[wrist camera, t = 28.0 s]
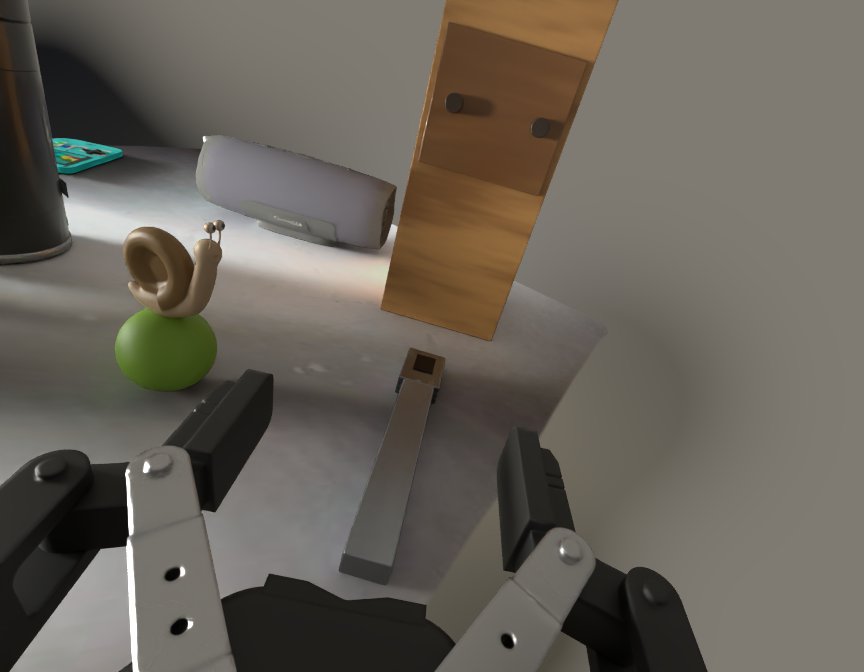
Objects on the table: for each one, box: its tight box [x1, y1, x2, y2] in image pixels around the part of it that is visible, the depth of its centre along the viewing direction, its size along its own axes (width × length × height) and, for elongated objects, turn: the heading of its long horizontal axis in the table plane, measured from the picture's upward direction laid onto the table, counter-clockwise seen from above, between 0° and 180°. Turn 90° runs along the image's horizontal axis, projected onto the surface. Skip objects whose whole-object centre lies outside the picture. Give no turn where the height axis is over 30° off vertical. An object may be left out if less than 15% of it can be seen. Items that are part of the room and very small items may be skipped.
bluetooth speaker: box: [196, 135, 397, 249], centre depth 54 cm, size 23×9×10 cm, turn 83°
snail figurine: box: [115, 220, 225, 392], centre depth 25 cm, size 5×6×12 cm
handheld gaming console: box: [52, 138, 123, 173], centre depth 59 cm, size 8×1×15 cm
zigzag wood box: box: [381, 0, 618, 341], centre depth 42 cm, size 17×12×34 cm
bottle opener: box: [339, 348, 446, 585], centre depth 28 cm, size 19×3×2 cm, turn 172°
